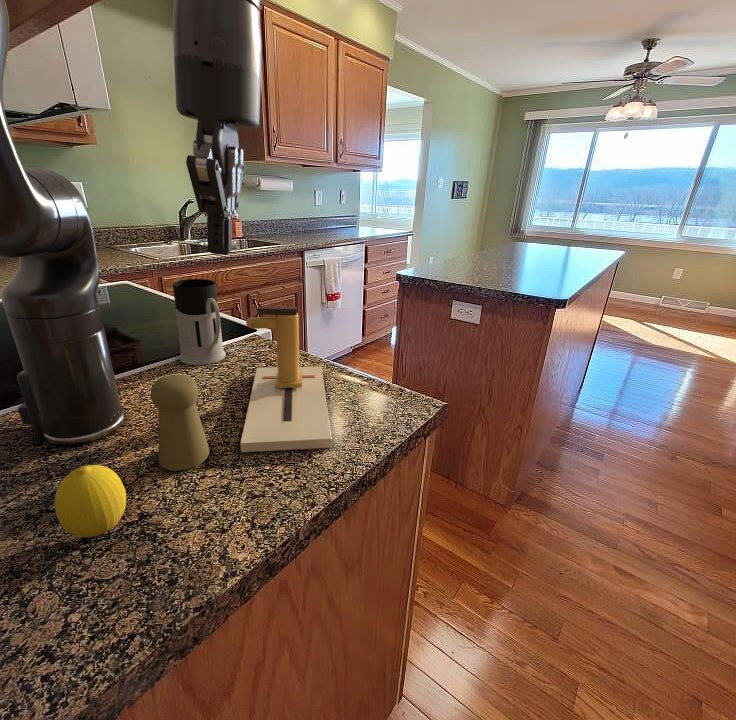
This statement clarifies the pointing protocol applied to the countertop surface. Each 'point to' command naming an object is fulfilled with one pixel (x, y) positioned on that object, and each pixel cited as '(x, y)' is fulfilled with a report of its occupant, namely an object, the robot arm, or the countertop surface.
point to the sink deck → (286, 413)
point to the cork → (179, 423)
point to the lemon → (90, 501)
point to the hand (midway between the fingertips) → (219, 252)
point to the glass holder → (198, 321)
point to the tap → (283, 342)
